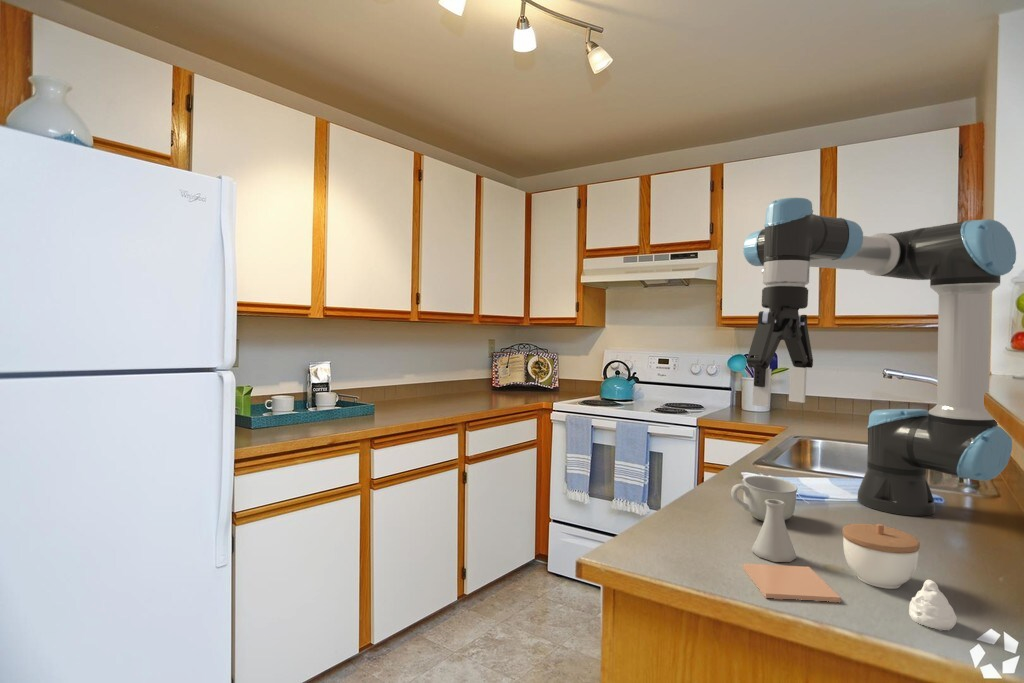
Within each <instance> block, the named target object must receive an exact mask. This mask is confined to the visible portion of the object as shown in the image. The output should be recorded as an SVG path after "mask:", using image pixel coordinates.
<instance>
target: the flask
mask: <svg viewBox="0 0 1024 683" xmlns="http://www.w3.org/2000/svg"><path fill="white" fill-rule="evenodd" d="M765 504H767V511H766V516H765V520H764V521H763V523H762V526H761V528H760V529H759V532H758V535H757V536H756V539H755V542H754V543H753V545H752V548H751V552H752V553H753V554H755V555H756V556H757V557H758V558H761V559H763V560H764V559H765V560H767V561H770V562H773V563H790V562H792V561H794V560H795V559H797V558H798V556H797V553H796V550H795V548H794V545H793V543H792V541H791V537H790V535H789V531H788V528H787V525H786V522H785V521H786V520H785V521H784V515H783V507H784V506H785V503H784V502H783V501H780V500H776V499H768V500H765Z"/></svg>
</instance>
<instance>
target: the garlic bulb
mask: <svg viewBox="0 0 1024 683" xmlns="http://www.w3.org/2000/svg"><path fill="white" fill-rule="evenodd" d="M922 585H923V586H922V588H921V589H920V590H917V592H916V594H915V596H913V597H911V600H910V602H909V606H908V607H909V608H908V614H909V617H910V618H911V619H912V621H913V622H915V623H916V622H917V623H916V624H918V623H919V624H918V625H920V624H921V625H920V626H922V625H925V626H928V627H931V628H935V629H943V630H948V631H950V630H949V629H951V630H952V629H953V627H955V626H956V624H957V621H958V618H957V616H956V612H955V610H954V608H953V606H952V605H951V604H950V603H949V601H948V598H947V597H946V596H945V594H944V593H943V592H941V590H940V589H939V586H938V584H937V583H936V582H935V581H934V580H931V579H926V580H925V581H924V582H923V584H922ZM925 626H924V627H925ZM928 627H927V628H928ZM931 628H930V629H931ZM935 629H934V630H935Z"/></svg>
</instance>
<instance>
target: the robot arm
mask: <svg viewBox="0 0 1024 683" xmlns="http://www.w3.org/2000/svg"><path fill="white" fill-rule="evenodd" d="M813 212H814V209H813V202H812V201H811V200H810V199H808V198H806V197H787V198H786V197H785V198H780V199H777V200H773V201H771V202H770V203H769V204H768V205H767V207H766V213H765V220H764V224H763V225H764V228H763V229H760V230H757V231H754V232H752V233H750V234H749V235H747V236H746V238H745V240H744V242H743V248H742V249H743V251H742V252H743V256H744V258H745V260H746V262H747V263H748V264H750V265H751V266H754V267H763V269H762V270H761V274H762V278H763V279H762V284H763V285H764V286H765V287H763V289H762V290H761V307H762V308H764V309H769V311H768V310H767V311H766V310H765V311H758V315H757V316H758V317H757V318H758V319H757V324H756V328H755V331H754V335H753V338H752V341H751V344H750V348H749V351H748V354H747V357H746V358H747V359H746V362H747V367H748V368H753V385H752V386H753V388H752V390H753V391H752V406H758V407H766V408H770V406H771V392H772V391H771V390H772V389H771V388H772V387H771V386H772V368H769V367H770V364H771V362H772V361H773V358H774V356H775V353H776V352H777V350H778V347H779V345H780V342H781V341H784V343H785V347H786V348H787V353H788V354H789V358H790V360H791V364H792V366H790V367H789V385H788V387H789V388H788V401H789V402H794V403H802V404H803V403H806V390H807V389H806V388H807V374H808V373H807V369H808V368H809V369H810V368H811V369H812V368H813V366H814V358H813V352H812V346H811V340H810V334H809V330H808V315H807V314H799V310H801V309H802V310H803V309H806V308H807V307H808V305H809V302H808V301H809V289H808V287H806V285H808V284H809V283H810V268H811V267H812V268H823V269H824V268H826V269H839V270H841V269H842V270H851V271H852V270H854V271H864V272H865V273H866V274H868V275H870V276H874V277H875V276H876V277H885V278H895V279H902V280H914V281H928V280H930V281H929V285H930V286H929V287H930V289H931V290H933V291H934V292H935V293H936V294H938V315H937V316H938V317H937V323H938V325H937V328H938V329H937V377H936V378H937V380H936V381H937V382H936V383H937V386H936V387H937V389H936V390H937V391H936V393H937V395H936V405H935V406H934V407H932V408H931V409H929V410H927V409H925V408H923V409H921V408H889V409H874V410H873V411H871V412H870V413H869V416H868V417H869V418H868V425H867V454H866V456H867V464H866V471H865V473H864V475H863V478H862V480H861V483H860V485H859V488H858V490H857V501H858V503H860V504H861V505H863V506H865V507H867V508H871V509H873V510H876V511H881V512H885V513H890V514H896V515H902V516H919V517H921V516H922V517H923V516H930V515H933V514H935V512H936V509H935V506H936V502H935V499H934V497H933V493H932V490H931V488H930V485H929V482H928V477H927V470H930V471H934V472H936V473H937V472H938V473H941V474H942V473H943V474H946V475H951V476H955V477H959V478H961V479H964V480H968V479H969V480H975V481H978V482H979V481H980V482H987V481H991V480H993V479H995V478H997V477H998V476H999V475H1000V474H1001V473H1002V472H1003V471H1004V470H1005V469H1006V467H1007V465H1008V463H1009V461H1010V459H1011V455H1012V451H1013V439H1012V437H1011V435H1010V436H1009V435H1008V434H1007V433H1006V432H1005V431H1004V430H1003V429H1004V428H1003V427H1002V426H998V425H999V424H997V422H996V421H995V420H994V418H993V417H992V416H991V415H990V414H989V413H988V411H987V410H986V409H985V406H984V395H985V393H987V392H989V393H990V390H989V389H990V349H991V348H990V347H991V346H990V342H991V341H990V340H991V338H990V337H991V335H990V334H991V296H992V295H991V294H992V292H993V291H995V290H996V289H997V288H998V287H1000V286H1001V277H1002V276H1005V275H1007V274H1009V273H1010V272H1011V271H1012V270H1013V269H1014V265H1015V263H1016V261H1017V249H1016V243H1015V240H1014V238H1013V236H1012V234H1011V232H1010V231H1009V230H1008V229H1007V227H1006V226H1005V225H1004V224H1002V222H1000V221H998V220H995V219H991V218H990V219H987V218H986V219H985V218H984V219H973V220H972V219H971V220H964V221H959V222H953V223H947V224H941V225H935V226H929V227H922V228H915V229H910V230H905V231H900V232H894V233H885V232H882V233H881V232H880V233H875V234H873V235H871V236H867V235H864V231H863V229H862V227H861V226H860V225H859V224H858V223H857V222H855V221H853V220H848V219H847V218H844V217H843V218H842V217H832V216H827V215H826V216H824V215H818V214H814V213H813ZM1001 427H1002V428H1003V429H1002V428H1001Z"/></svg>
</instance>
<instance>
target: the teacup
mask: <svg viewBox="0 0 1024 683" xmlns="http://www.w3.org/2000/svg"><path fill="white" fill-rule="evenodd" d="M739 490H742V491H743V496H742V497H743V500H741V499H740V498H739V497H738V495H737V494H738V491H739ZM797 492H798V486H796V484H795V483H792V482H790V481H788V480H784V479H782V478H777V477H772V476H764V475H751V476H746V477H744V479H743V483H736V484H734V485H733V486H732V487H731V491H730V494H731V498H732V499H733V500H734V502H736V503H737V504H738V505H740V506H742V508H743V509H744V510H745V511H747V512H748V513H749V514H750V515H751V516H752V518H754V519H756V520H759V521H761V522H764V520H765V516H766V511H767V504H765V500H768V499H776V500H780V501H783V502H784V503H785V506H784V507H783V515H784V521H787V520H788V519H791V517H793V515H794V513H795V511H796V503H797Z"/></svg>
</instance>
